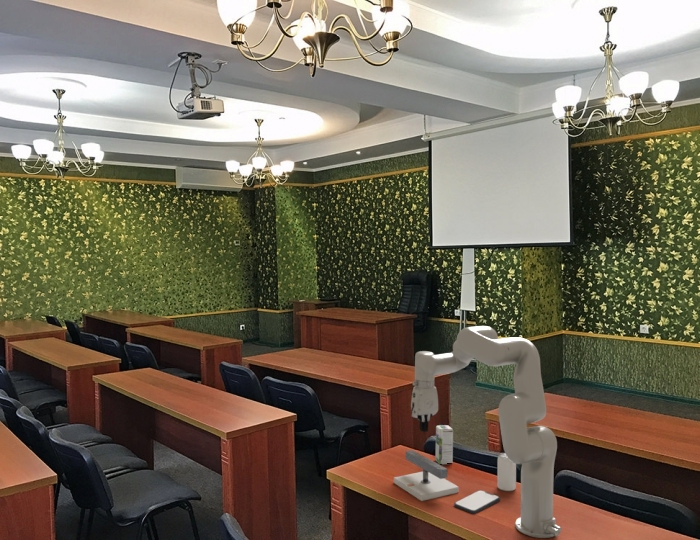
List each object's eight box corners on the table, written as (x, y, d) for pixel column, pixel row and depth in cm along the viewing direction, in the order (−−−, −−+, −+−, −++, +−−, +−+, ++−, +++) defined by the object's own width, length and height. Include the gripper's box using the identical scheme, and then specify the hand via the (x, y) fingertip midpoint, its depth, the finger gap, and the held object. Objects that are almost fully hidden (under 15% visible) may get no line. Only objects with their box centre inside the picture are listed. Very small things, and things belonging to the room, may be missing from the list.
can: (513, 484, 209) (514, 452, 209) (517, 492, 203) (517, 458, 202) (496, 484, 210) (496, 452, 210) (498, 491, 203) (499, 458, 203)
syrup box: (434, 460, 235) (435, 425, 235) (448, 459, 236) (448, 424, 236) (439, 464, 229) (439, 429, 229) (453, 464, 230) (453, 428, 230)
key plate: (458, 492, 202) (458, 486, 202) (421, 501, 195) (421, 494, 195) (429, 475, 218) (429, 469, 218) (393, 482, 211) (393, 476, 211)
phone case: (474, 516, 185) (501, 501, 195) (474, 511, 185) (501, 496, 195) (452, 507, 191) (479, 493, 202) (452, 503, 191) (479, 489, 202)
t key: (447, 491, 197) (447, 468, 197) (440, 493, 196) (440, 470, 196) (412, 470, 217) (412, 450, 217) (405, 472, 216) (405, 451, 215)
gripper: (413, 387, 211) (413, 436, 212) (446, 384, 218) (445, 431, 219) (402, 383, 218) (402, 430, 218) (434, 380, 225) (433, 425, 225)
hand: (423, 430), depth 218 cm, fingers closed
